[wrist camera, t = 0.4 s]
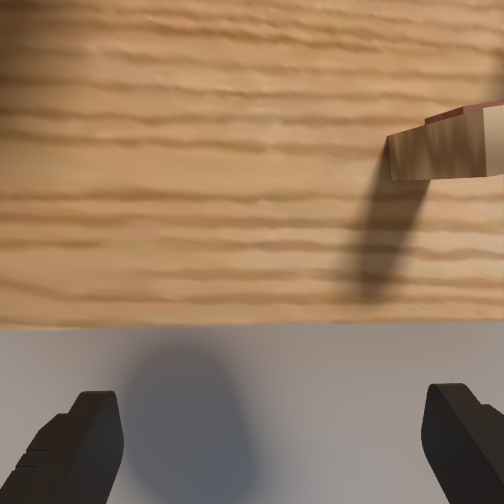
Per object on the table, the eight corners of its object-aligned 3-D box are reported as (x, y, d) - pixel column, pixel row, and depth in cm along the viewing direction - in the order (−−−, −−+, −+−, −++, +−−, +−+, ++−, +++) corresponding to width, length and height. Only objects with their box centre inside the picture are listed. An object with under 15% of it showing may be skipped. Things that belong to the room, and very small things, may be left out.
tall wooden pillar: (386, 130, 34) (482, 99, 23) (429, 123, 35) (545, 89, 23) (391, 181, 35) (486, 176, 23) (432, 174, 35) (547, 166, 24)
